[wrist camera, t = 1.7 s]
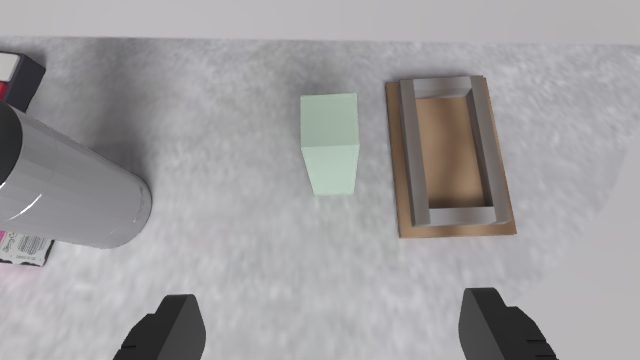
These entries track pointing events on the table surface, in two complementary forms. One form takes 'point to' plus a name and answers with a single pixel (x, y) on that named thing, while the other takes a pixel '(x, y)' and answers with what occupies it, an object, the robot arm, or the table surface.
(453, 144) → the track
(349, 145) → the pale green angular block
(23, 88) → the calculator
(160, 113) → the table surface
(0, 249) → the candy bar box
